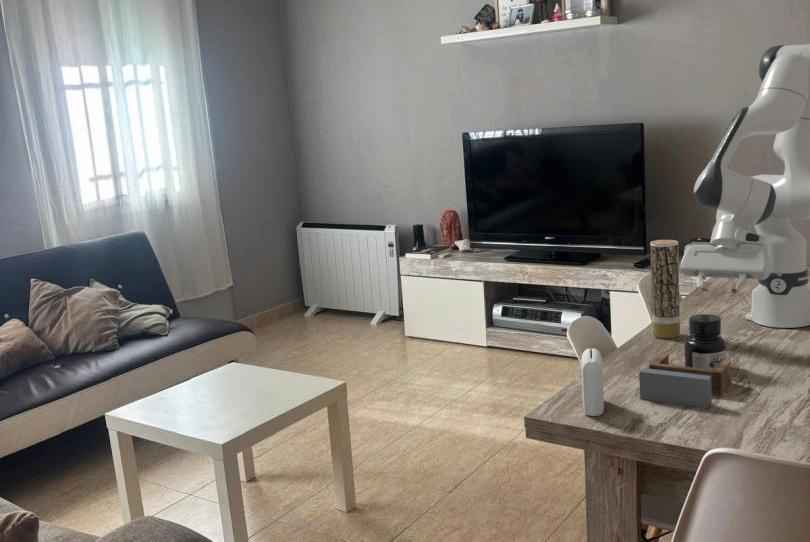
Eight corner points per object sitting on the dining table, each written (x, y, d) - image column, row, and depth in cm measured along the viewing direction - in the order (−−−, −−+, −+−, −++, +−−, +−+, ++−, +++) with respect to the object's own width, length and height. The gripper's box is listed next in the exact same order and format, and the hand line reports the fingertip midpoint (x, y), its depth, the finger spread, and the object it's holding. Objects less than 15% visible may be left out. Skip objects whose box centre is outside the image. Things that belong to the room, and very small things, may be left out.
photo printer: (583, 398, 177) (580, 343, 174) (603, 398, 176) (601, 343, 173) (583, 417, 167) (580, 359, 164) (604, 417, 166) (602, 358, 163)
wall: (644, 394, 176) (643, 368, 175) (711, 403, 168) (711, 375, 166) (640, 398, 174) (639, 371, 173) (708, 408, 166) (707, 379, 164)
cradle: (662, 374, 187) (661, 353, 186) (731, 382, 178) (731, 360, 177) (649, 386, 180) (649, 364, 179) (720, 395, 171) (720, 372, 170)
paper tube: (681, 339, 211) (679, 243, 206) (654, 339, 213) (651, 245, 208) (678, 331, 218) (676, 239, 213) (651, 332, 219) (649, 240, 214)
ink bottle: (696, 377, 183) (695, 325, 181) (676, 365, 192) (675, 316, 190) (735, 371, 185) (735, 319, 183) (714, 360, 194) (713, 310, 191)
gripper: (683, 234, 205) (672, 281, 199) (771, 236, 193) (762, 286, 187) (689, 248, 209) (678, 295, 203) (775, 251, 197) (766, 300, 192)
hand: (719, 290), depth 195 cm, fingers open, 6 cm apart
